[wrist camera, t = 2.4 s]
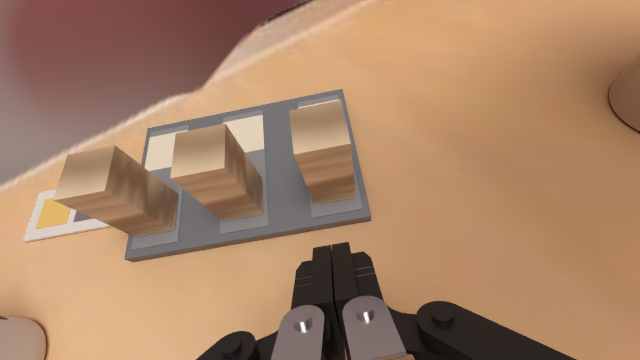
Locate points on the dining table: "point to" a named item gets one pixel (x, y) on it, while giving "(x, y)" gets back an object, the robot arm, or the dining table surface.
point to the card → (57, 220)
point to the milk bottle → (21, 339)
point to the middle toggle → (217, 172)
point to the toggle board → (277, 184)
